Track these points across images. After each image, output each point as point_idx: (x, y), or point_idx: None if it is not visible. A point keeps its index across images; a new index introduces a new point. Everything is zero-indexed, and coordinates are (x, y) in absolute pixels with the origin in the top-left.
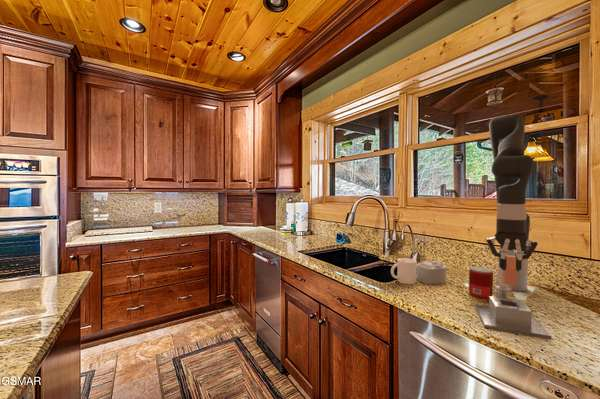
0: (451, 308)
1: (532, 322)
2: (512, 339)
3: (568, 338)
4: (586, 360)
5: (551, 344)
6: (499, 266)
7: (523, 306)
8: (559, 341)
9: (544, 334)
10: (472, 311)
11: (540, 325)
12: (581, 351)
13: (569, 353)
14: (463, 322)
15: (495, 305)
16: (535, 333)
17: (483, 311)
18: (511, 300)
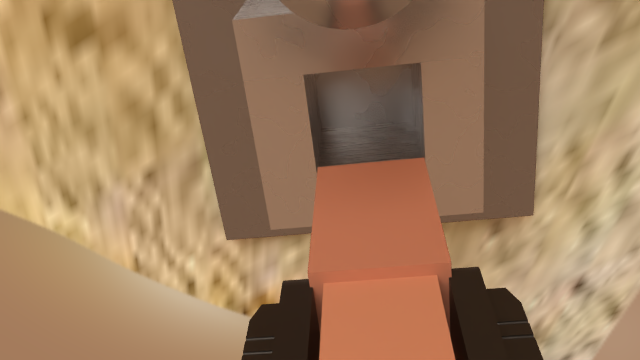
0: (19, 43)
1: (496, 73)
2: None
3: (628, 148)
4: (590, 324)
5: (506, 254)
6: (258, 323)
7: (457, 139)
8: (560, 206)
9: (504, 213)
10: (151, 21)
11: (530, 98)
12: (615, 260)
13: (550, 299)
14: (126, 219)
15: (269, 213)
16: (462, 219)
17: (215, 44)
18: (398, 41)
